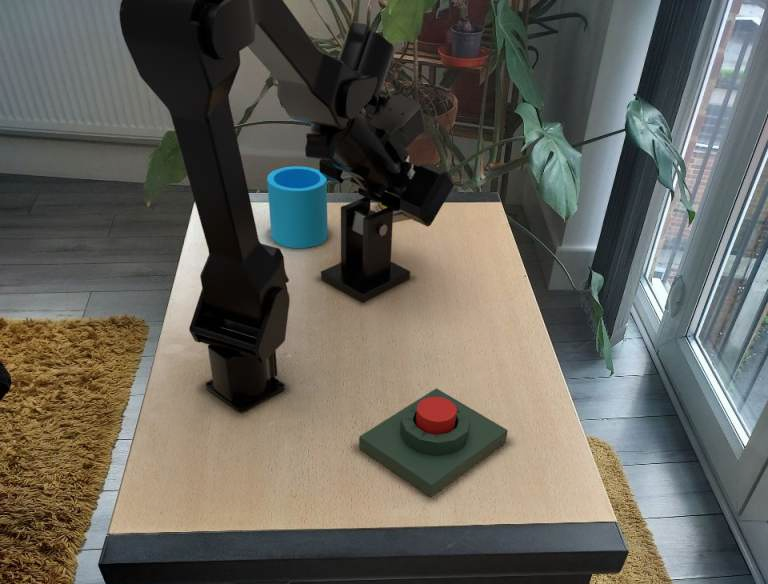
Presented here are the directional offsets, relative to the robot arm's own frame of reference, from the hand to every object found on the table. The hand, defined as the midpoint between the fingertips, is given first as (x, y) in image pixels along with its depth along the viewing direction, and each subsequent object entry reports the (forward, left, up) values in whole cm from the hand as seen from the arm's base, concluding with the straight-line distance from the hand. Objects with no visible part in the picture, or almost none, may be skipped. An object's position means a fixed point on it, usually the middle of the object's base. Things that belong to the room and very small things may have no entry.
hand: (412, 207), depth 105 cm
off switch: (-28, -29, -7) cm, 41 cm away
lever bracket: (-9, 0, -7) cm, 11 cm away
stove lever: (-5, 0, -1) cm, 5 cm away
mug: (-6, +17, -7) cm, 19 cm away
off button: (-28, -29, -4) cm, 40 cm away
